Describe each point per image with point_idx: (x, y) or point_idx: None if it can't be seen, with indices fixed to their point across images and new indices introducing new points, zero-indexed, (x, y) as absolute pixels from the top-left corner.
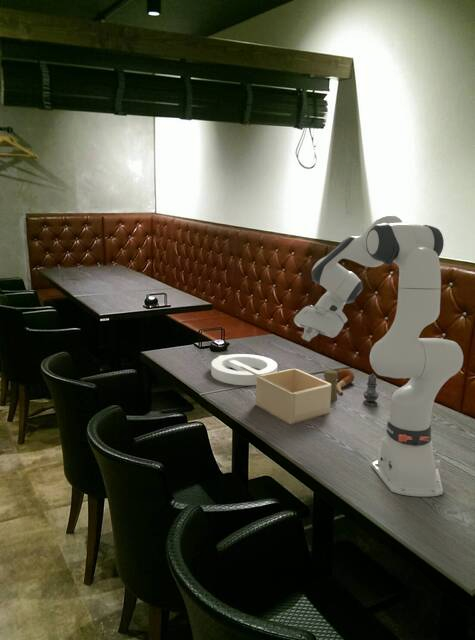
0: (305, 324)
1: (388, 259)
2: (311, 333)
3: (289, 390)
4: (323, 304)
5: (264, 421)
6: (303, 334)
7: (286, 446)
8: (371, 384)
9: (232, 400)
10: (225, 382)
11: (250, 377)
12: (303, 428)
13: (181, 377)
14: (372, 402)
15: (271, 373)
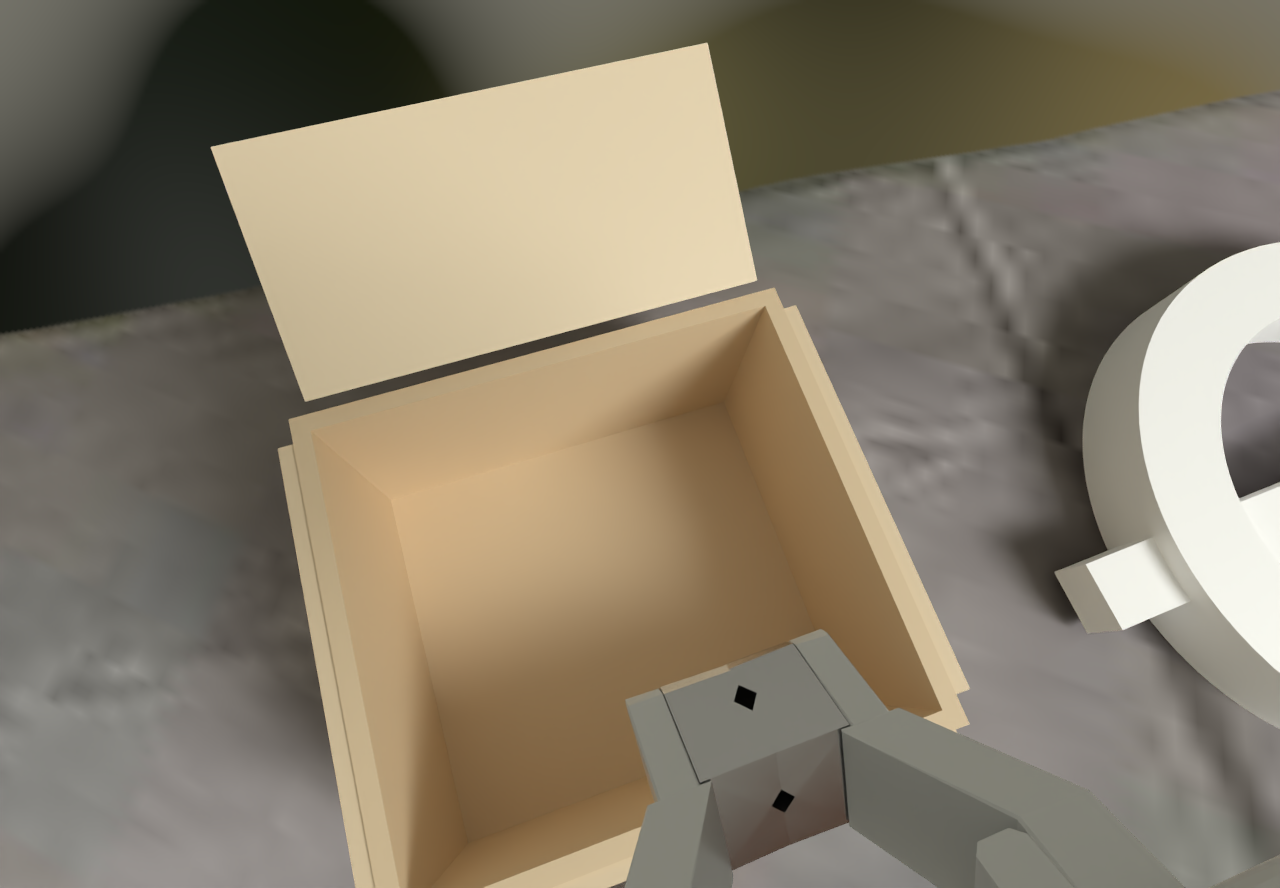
0: (1265, 875)
1: None
2: (639, 881)
3: (302, 394)
4: None
5: (471, 362)
6: (849, 680)
7: (116, 367)
8: None
9: (820, 285)
10: (1129, 324)
11: (1125, 446)
12: (292, 554)
13: (1209, 121)
14: None
15: (835, 430)
